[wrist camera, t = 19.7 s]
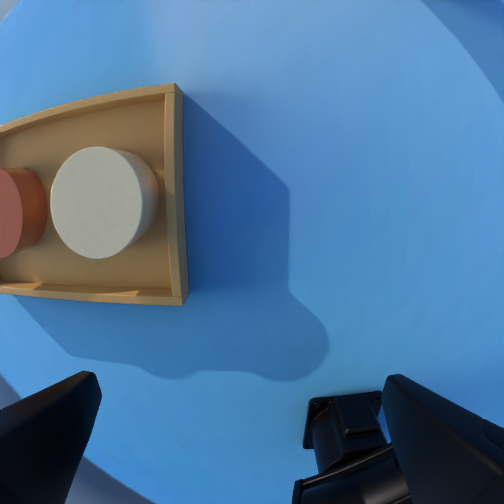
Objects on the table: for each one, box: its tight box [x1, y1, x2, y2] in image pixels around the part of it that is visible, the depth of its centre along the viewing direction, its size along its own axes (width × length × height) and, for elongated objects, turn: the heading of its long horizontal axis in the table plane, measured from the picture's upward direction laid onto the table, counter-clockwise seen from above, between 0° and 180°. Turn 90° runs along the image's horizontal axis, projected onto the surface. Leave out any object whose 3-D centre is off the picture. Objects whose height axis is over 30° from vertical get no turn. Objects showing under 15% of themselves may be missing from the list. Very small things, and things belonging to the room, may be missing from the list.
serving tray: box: [0, 83, 189, 306], centre depth 18 cm, size 13×18×2 cm
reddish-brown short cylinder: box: [0, 167, 48, 259], centre depth 17 cm, size 6×6×3 cm
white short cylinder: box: [50, 146, 160, 259], centre depth 17 cm, size 6×6×3 cm
